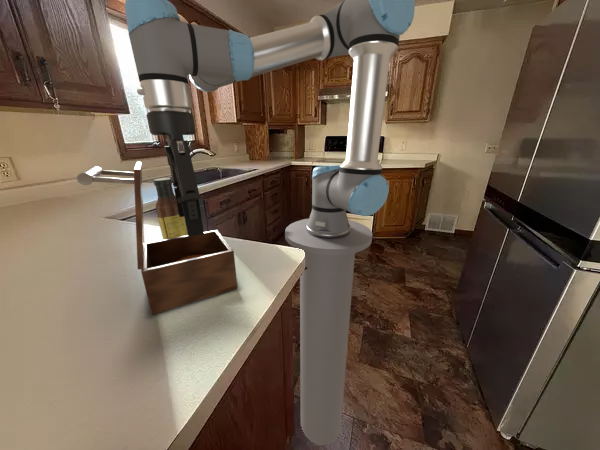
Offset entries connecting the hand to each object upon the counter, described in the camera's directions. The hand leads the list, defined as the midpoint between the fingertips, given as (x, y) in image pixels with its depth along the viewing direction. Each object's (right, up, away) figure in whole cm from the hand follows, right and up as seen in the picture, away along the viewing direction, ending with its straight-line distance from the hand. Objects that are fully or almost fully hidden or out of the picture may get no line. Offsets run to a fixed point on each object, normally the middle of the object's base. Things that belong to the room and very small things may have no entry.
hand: (190, 224), depth 51 cm
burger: (0, -12, +3) cm, 12 cm away
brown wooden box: (-1, -13, +2) cm, 13 cm away
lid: (-6, +2, -6) cm, 9 cm away
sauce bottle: (-12, -7, +19) cm, 24 cm away
